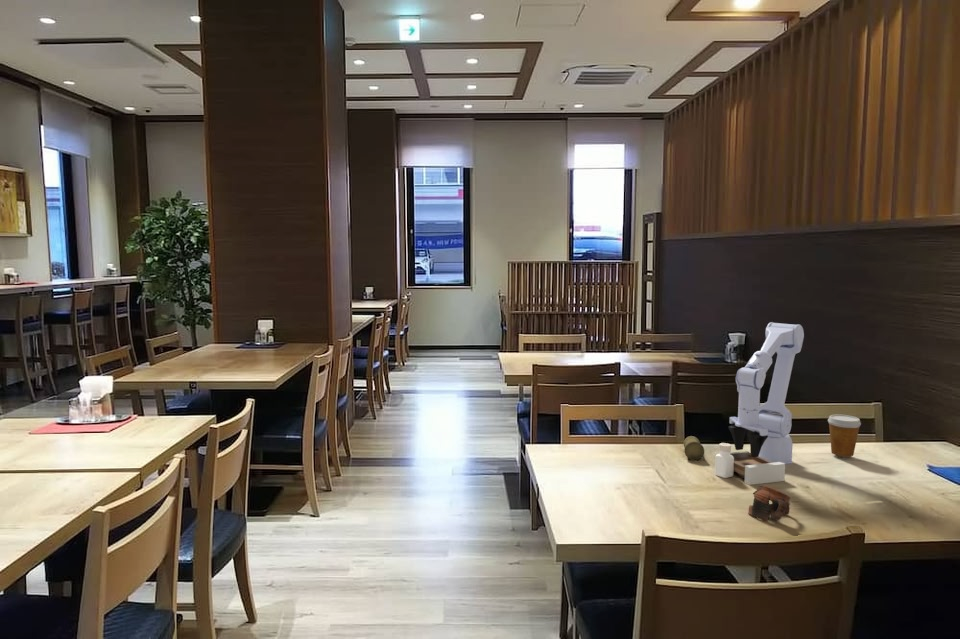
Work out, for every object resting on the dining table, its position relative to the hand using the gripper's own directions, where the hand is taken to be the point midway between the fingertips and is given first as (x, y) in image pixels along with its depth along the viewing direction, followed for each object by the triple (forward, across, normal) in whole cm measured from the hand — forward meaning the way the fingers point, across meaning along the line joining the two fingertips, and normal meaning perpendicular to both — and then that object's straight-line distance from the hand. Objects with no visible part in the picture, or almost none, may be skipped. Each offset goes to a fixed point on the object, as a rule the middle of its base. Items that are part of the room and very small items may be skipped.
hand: (746, 453), depth 196 cm
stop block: (+6, +8, 0) cm, 10 cm away
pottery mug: (+7, +30, -18) cm, 36 cm away
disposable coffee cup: (+6, -6, +42) cm, 43 cm away
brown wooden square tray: (+6, 0, 0) cm, 6 cm away
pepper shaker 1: (+3, -14, -8) cm, 17 cm away
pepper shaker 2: (+6, +1, -8) cm, 10 cm away
